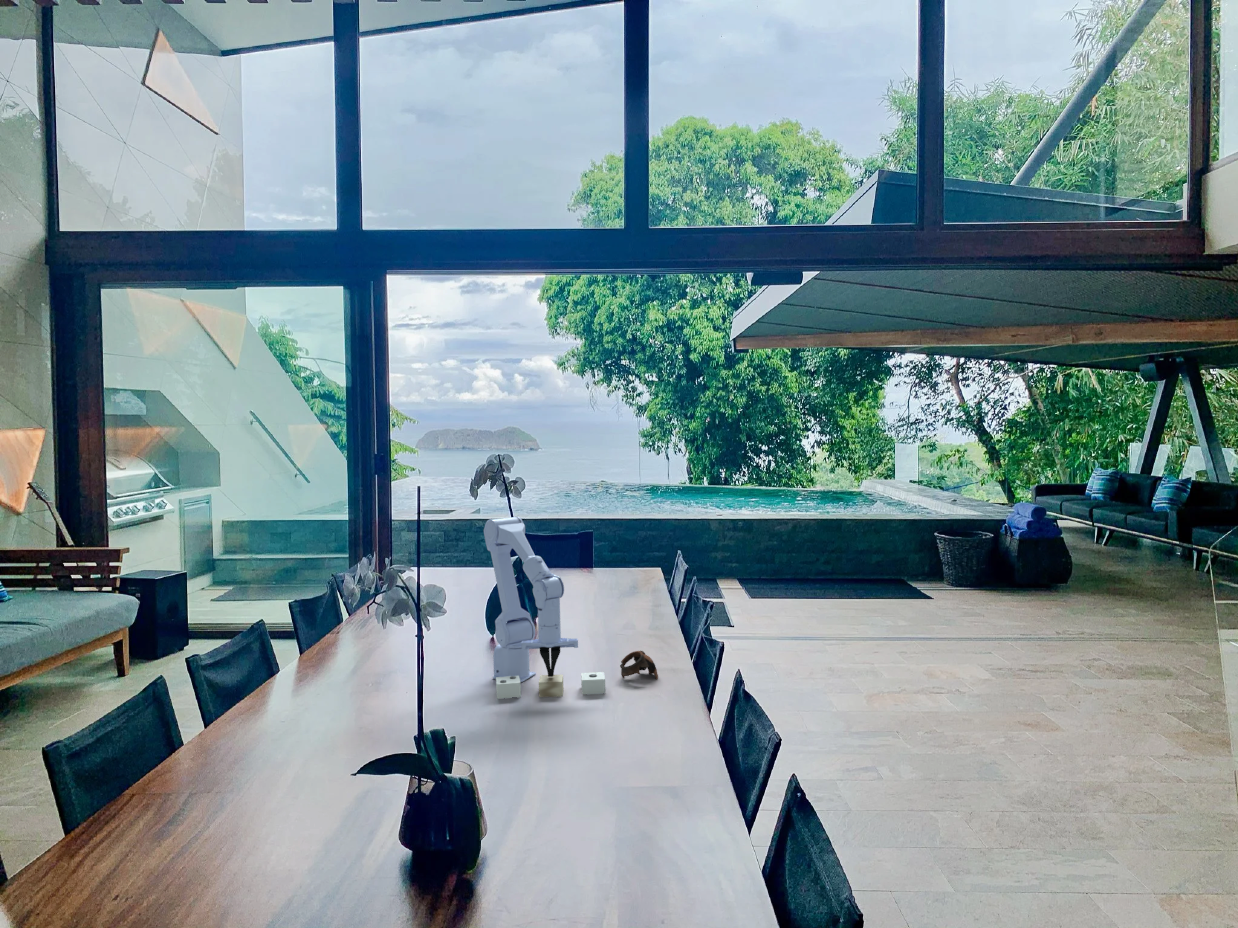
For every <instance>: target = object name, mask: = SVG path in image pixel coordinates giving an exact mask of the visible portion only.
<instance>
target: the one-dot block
mask: <svg viewBox="0 0 1238 928" xmlns="http://www.w3.org/2000/svg"><path fill="white" fill-rule="evenodd" d="M580 674H581V675H580V676H581V678H580V680H581V683H580V684H581V695H582V694H587V695H602V694H603V693H605V694H606V676H605V672H604V671H599V672H598V671H597V672H581V673H580ZM603 695H604V694H603Z"/></svg>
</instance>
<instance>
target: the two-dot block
mask: <svg viewBox="0 0 1238 928" xmlns="http://www.w3.org/2000/svg"><path fill="white" fill-rule="evenodd" d="M495 684H496V685H495V687H496V688H495V689H496V690H495V691H496V699H497V700H504V698H505V699H513V698H512V697H517V698H522V694H521V693H522V690H521V689H522V688H521V687H522V685H521V684H522V682H520V678H519V676H506V677H496V679H495Z"/></svg>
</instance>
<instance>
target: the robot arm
mask: <svg viewBox="0 0 1238 928" xmlns="http://www.w3.org/2000/svg"><path fill="white" fill-rule="evenodd" d="M524 523H525V522H524V521H523V519H522V518H521V517H520V516H519V515H518V516H513V517H504V518H495V519H493V518H490V519H488V520H487V521H486V522H485V525H484V528H483V535H484V541H485V545H486V549H487V551H488V552H490V556H491V561H492V565H493V566H492V567H493V571H494V575H495V576H494V577H495V581H496V587H497V590H498V597H499V602H500V605H501V613H500V614H499V615H498V617H497V618H496V619H495V620H494V624H495V632H494V633H495V638H496V639H495V640H496V642H497V643H498V644H497V645H496V646H495V647H494V651H493V657H492V658H493V660H492V661H493V676H492V679H494V680H496V677H506V676H519V678H520V683H523V682H525V681H526V680H528V679H529V678H532V677H533V676H535V675H536V673H537V672H535V671H530V669H531V667H530V650H536V649H537V650H539V654H540V657H541V658H542V660H543V662H544V665H545V668H546V671H547V675H548V677H553V676H554V675H555V667H556V664H557V661H558V659H559V656H560V654H561V649H562V648H574V649H577V648H579V639H578V638H568V637H566V638H565V637H562V635H561V634H562V633H561V632H562V631H561V598H562V597H563V596H564V594H565V586H564V582H563V580H562V578H561V577H560V576H559V575H556V574H555V573H552V572H551V570H550V569H549V567H548V566H547V564H546V563H545V561H544V559H543V558H542V557H541V556H540V555H535V553H534V550H533V549H532V547H531V545H530V542H529V540H528V539H527V537H526V535H525V534H526V525H525V524H524ZM512 549H513V550H514V551H515V553H516V555H517V556H518V557H519V558H520V559H521V561H522V562H523V563H522V569H523V572H524V573H525V574H526V577H527V578H528V579H529V581H530V583H531V584H532V587H533V588H532V593H533V597H534V600H535V601H534V602H535V606H536V607H537V617H538V618H537V624H538V627H537V628H538V629H537V630H538V638H536V639H535V636H536V626H535V623H534V622H533V620H532V617H531V614H530V613H529V612H528V611H527V610H526V609H524V608H522V606H521V601H520V597H519V591H518V588H517V587H518V586H517V582H516V577H515V573H514V567H513V562H512V558H511V551H512ZM536 607H535V608H536Z"/></svg>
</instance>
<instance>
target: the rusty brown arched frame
mask: <svg viewBox="0 0 1238 928" xmlns="http://www.w3.org/2000/svg"><path fill="white" fill-rule="evenodd" d="M632 659H633V661H634V663H632V664H630V665H627V666H626V664H628V662H630V661H631V660H632ZM620 662H621V664H620V665H619V667H620V674H621V677H622V679H625V677H630V676H633V675H641V673H640V672H641V671H646V669H647V671H648V674H649V675H653V674H654V678H655V680H658V678H659V674H658V669H657V667H656V663H655V662H654V660H653V659H652V658H651V657H650V656H649V655H648V654H646V653H645V652H644V651H643V650H635V651H632V652H630V653H628V654H627V655H626V656H624V657H623V658H622V659H621V661H620Z"/></svg>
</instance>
